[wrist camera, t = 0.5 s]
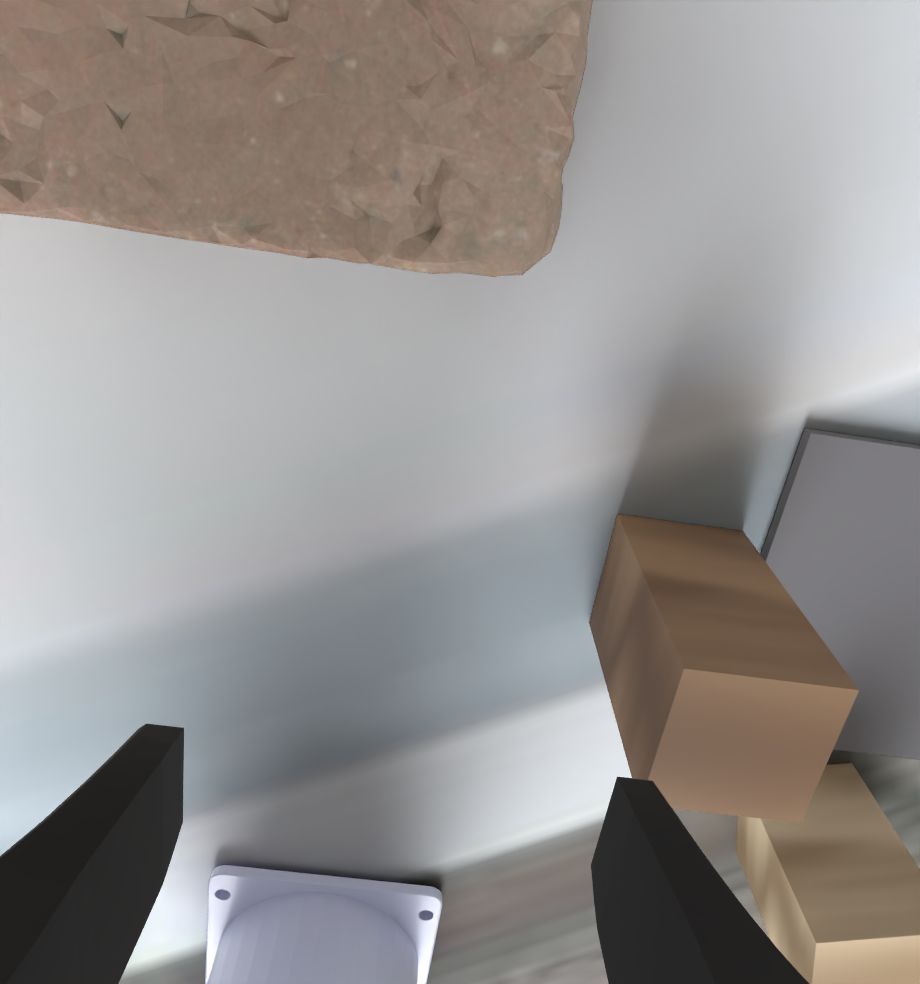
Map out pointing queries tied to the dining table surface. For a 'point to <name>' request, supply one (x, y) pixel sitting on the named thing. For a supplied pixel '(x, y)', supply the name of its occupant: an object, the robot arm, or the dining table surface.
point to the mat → (858, 575)
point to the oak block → (836, 886)
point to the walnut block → (714, 671)
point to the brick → (298, 123)
